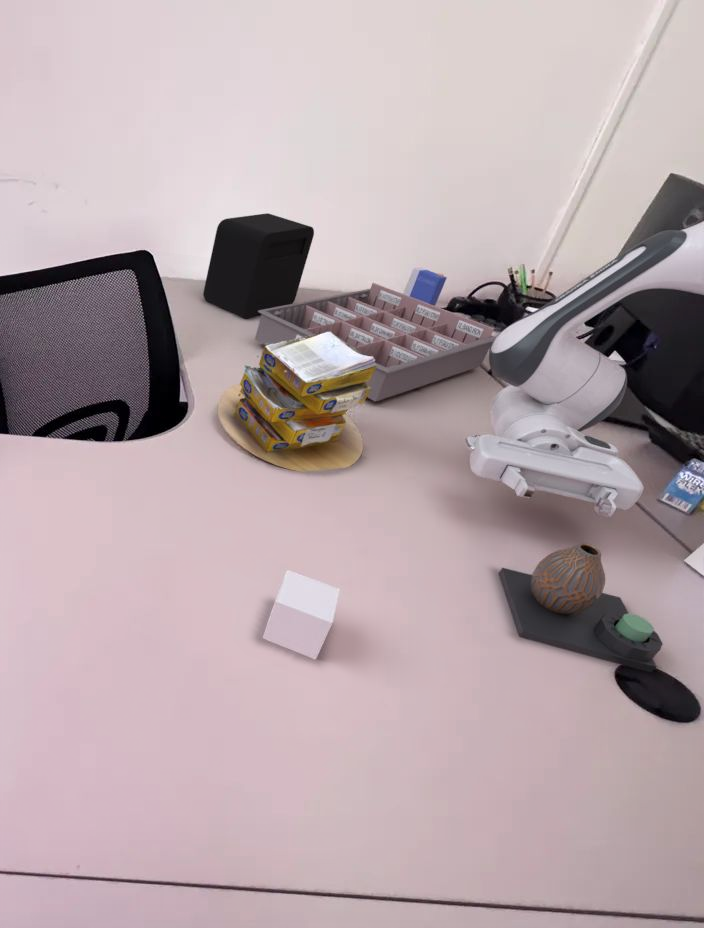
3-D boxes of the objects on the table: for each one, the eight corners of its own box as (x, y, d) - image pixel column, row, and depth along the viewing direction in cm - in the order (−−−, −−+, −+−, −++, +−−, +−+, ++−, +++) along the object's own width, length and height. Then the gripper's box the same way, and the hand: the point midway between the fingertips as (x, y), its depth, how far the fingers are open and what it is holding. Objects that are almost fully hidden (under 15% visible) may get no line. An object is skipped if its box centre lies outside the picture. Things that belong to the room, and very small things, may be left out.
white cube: (323, 626, 79) (340, 588, 75) (315, 660, 74) (332, 623, 71) (272, 606, 81) (286, 569, 77) (261, 639, 76) (276, 601, 73)
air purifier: (248, 289, 179) (267, 210, 168) (293, 307, 170) (317, 225, 159) (197, 300, 168) (214, 217, 157) (242, 320, 159) (264, 234, 148)
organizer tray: (248, 345, 147) (259, 301, 141) (358, 319, 167) (372, 280, 161) (373, 410, 126) (393, 362, 121) (483, 372, 146) (504, 329, 141)
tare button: (639, 628, 80) (648, 617, 79) (649, 646, 77) (658, 635, 76) (611, 620, 80) (619, 610, 79) (620, 638, 78) (628, 628, 77)
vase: (554, 626, 81) (593, 572, 76) (509, 586, 86) (543, 533, 81) (597, 618, 82) (638, 565, 77) (550, 580, 88) (586, 527, 83)
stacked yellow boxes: (390, 470, 109) (431, 376, 100) (250, 476, 104) (280, 378, 94) (314, 397, 129) (343, 314, 119) (193, 400, 123) (213, 312, 114)
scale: (619, 604, 87) (632, 588, 85) (655, 674, 77) (671, 657, 75) (497, 574, 90) (508, 557, 88) (518, 637, 80) (530, 620, 78)
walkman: (428, 323, 170) (447, 276, 163) (420, 324, 169) (440, 276, 162) (402, 311, 175) (420, 265, 168) (395, 312, 174) (413, 266, 167)
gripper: (472, 415, 98) (491, 462, 87) (629, 448, 94) (669, 502, 83) (454, 451, 102) (470, 501, 91) (604, 485, 98) (639, 541, 87)
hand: (566, 502), depth 87 cm, fingers open, 8 cm apart
